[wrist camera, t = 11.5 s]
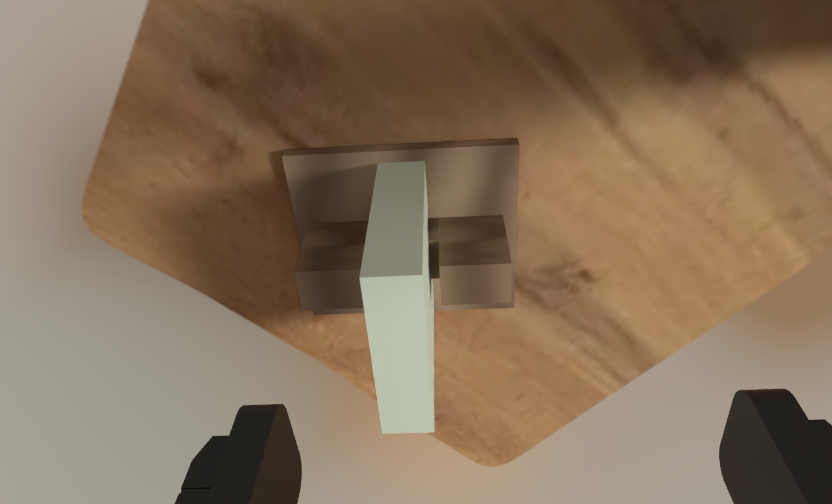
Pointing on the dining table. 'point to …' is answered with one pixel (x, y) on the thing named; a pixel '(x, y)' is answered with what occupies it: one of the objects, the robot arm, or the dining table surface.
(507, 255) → the slot plate
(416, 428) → the upright sage green panel
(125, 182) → the dining table surface
